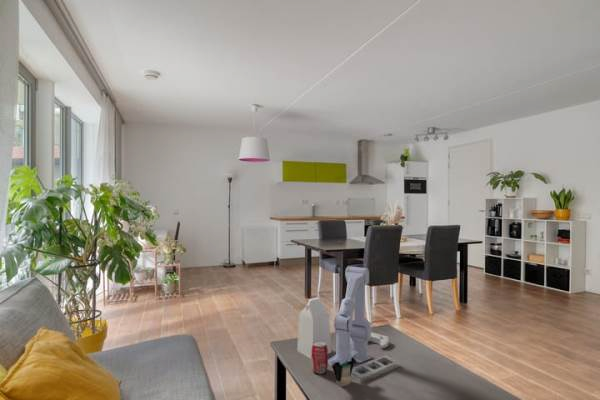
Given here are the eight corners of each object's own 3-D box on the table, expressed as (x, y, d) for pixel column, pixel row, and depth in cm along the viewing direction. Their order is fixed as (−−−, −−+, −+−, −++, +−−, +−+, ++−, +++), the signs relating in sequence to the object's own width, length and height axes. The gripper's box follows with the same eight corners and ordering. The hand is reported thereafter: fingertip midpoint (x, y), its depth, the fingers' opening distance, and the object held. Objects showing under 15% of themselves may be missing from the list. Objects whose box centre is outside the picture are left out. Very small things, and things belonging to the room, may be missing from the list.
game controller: (358, 337, 177) (366, 327, 185) (359, 345, 178) (367, 335, 185) (384, 345, 168) (392, 334, 176) (385, 353, 169) (393, 342, 177)
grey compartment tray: (347, 374, 146) (347, 369, 146) (385, 359, 159) (385, 355, 159) (360, 382, 139) (360, 377, 139) (399, 366, 153) (399, 361, 153)
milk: (312, 359, 159) (312, 304, 158) (297, 350, 168) (297, 298, 167) (331, 352, 166) (331, 299, 166) (315, 344, 175) (315, 294, 175)
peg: (335, 382, 140) (335, 363, 140) (343, 378, 142) (343, 360, 142) (342, 387, 136) (342, 367, 136) (350, 383, 139) (350, 364, 138)
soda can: (318, 365, 154) (319, 338, 154) (330, 370, 149) (331, 343, 149) (308, 370, 149) (308, 343, 149) (320, 376, 144) (320, 348, 144)
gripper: (336, 353, 132) (335, 388, 132) (363, 344, 140) (362, 377, 140) (324, 346, 137) (324, 380, 138) (351, 338, 146) (351, 369, 146)
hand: (343, 378), depth 139 cm, fingers open, 5 cm apart
